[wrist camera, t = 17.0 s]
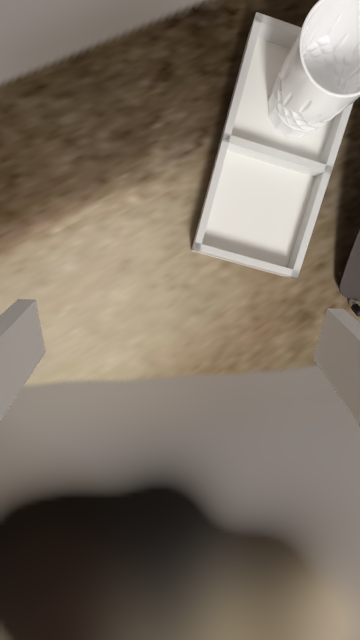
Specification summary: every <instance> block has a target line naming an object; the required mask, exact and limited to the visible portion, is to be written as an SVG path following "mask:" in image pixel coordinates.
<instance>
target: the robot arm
mask: <svg viewBox="0 0 360 640" xmlns="http://www.w3.org/2000/svg"><path fill="white" fill-rule="evenodd" d="M44 354H45V346H44V341H43V336H42V330H41V325H40V320H39V314H38V309H37V304H36V300H25V299H18V300H17V301H16V302H15V303H14V304H13V305H11V306H10V307H9V308H8V309H7V310H6V311H5V312H4V313H3V314H2V315H1V316H0V421H1V420H2V418H3V416H4V415H5V413H6V412H7V410H8V409H9V407H10V406H11V404H12V403H13V401H14V400H15V398H16V397H17V395H18V394H19V392H20V391H21V389H22V387H23V386H24V384H25V383H26V381H27V380H28V378H29V377H30V375H31V374H32V372H33V371H34V369H35V368H36V366H37V364H38V363H39V361H40V360H41V358H42V357H43V355H44ZM313 359H314V361H315V362H316V363H317V365H318V366H319V368H320V369H321V371H322V372H323V374H324V375H325V376H326V378H327V379H328V381H329V382H330V384H331V385H332V387H333V388H334V390H335V391H336V393H337V394H338V395H339V397H340V398H341V400H342V401H343V403H344V404H345V406H346V407H347V409H348V410H349V411H350V413H351V414H352V416H353V417H354V419H355V420H356V422H357V423H358V425H359V426H360V323H359V322H358V321H357V320H356V319H354V318H353V317H352V316H351V315H350V314H349V313H348V312H347V311H346V310H344V309H327V312H326V315H325V319H324V322H323V326H322V329H321V333H320V336H319V340H318V343H317V347H316V350H315V354H314V357H313Z"/></svg>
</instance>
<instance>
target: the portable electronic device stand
mask: <svg viewBox="0 0 360 640" xmlns="http://www.w3.org/2000/svg"><path fill="white" fill-rule="evenodd" d="M339 275H340V277H341V278H340V284H339V290H340V292H341V293H342V295H343V296H345V297H347V298H349V306H350V307H351V309H352V310H353V312H354V313H355V314H356V315H357V316H360V306H359V305H358V304H356V301H360V227H359V230H358V232H357V235H356V237H355V240H354V242H353V245H352V248H351V250H350V253H349V256H348V259H347V262H346V265H345V268H344V270H343V271H341V272H339Z"/></svg>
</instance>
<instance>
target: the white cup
mask: <svg viewBox="0 0 360 640" xmlns="http://www.w3.org/2000/svg"><path fill="white" fill-rule="evenodd" d="M359 97H360V0H319V1H318V2H317V3H316V4H315V5H314V6H313V7H312V9H311V10H310V12H309V13H308V15H307V17H306V19H305V21H304V23H303V25H302V27H301V29H300V31H299V33H298V35H297V37H296V39H295V41H294V43H293V45H292V47H291V49H290V51H289V53H288V55H287V57H286V59H285V61H284V63H283V66H282V68H281V70H280V72H279V74H278V77H277V79H276V82H275V84H274V86H273V88H272V91H271V94H270V97H269V100H268V110H269V118H270V120H271V121H272V123H273V125H274V127H275V129H276V130H278V131H279V132H281V133H282V134H284V135H285V136H286V137H294V138H301V137H304V136H307V135H309V134H312V133H313V132H315V131H316V130H317V129H318V128H319V127H321V126H322V125H324V124H325V123H327V122H328V121H330V120H331V119H332V118H334V117H335V116H336V115H338V114H339V113H340V112H342V111H343V110H344V109H345V108H347V107H348V106H349V105H350V104H352V103H353V102H354V101H355V100H357V99H358V98H359Z"/></svg>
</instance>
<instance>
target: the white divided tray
mask: <svg viewBox="0 0 360 640" xmlns="http://www.w3.org/2000/svg"><path fill="white" fill-rule="evenodd" d="M300 29H301V27H298V26H295V25H292V24H290V23H287V22H284V21H281V20H278V19H275V18H272V17H269V16H267V15H264V14H261V13H258V12H256V14H255V17H254V20H253V23H252V26H251V29H250V31H249V34H248V38H247V42H246V46H245V49H244V53H243V57H242V61H241V64H240V68H239V72H238V76H237V80H236V83H235V87H234V91H233V95H232V98H231V102H230V106H229V110H228V113H227V117H226V121H225V125H224V128H223V132H222V136H221V140H220V143H219V147H218V151H217V155H216V159H215V162H214V166H213V170H212V174H211V177H210V181H209V185H208V189H207V192H206V196H205V200H204V204H203V207H202V211H201V215H200V219H199V223H198V226H197V230H196V234H195V238H194V241H193V245H192V249H191V251H194V252H197V253H201V254H204V255H208V256H212V257H215V258H219V259H223V260H226V261H230V262H233V263H237V264H241V265H244V266H248V267H252V268H255V269H259V270H262V271H266V272H270V273H273V274H277V275H280V276H284V277H288V278H298V275H299V272H300V269H301V266H302V262H303V259H304V256H305V253H306V250H307V247H308V244H309V240H310V237H311V234H312V231H313V228H314V225H315V222H316V219H317V215H318V212H319V209H320V206H321V203H322V200H323V197H324V193H325V190H326V187H327V184H328V181H329V178H330V175H331V172H332V168H333V165H334V162H335V159H336V156H337V153H338V150H339V146H340V143H341V140H342V137H343V134H344V131H345V128H346V125H347V121H348V118H349V115H350V112H351V109H352V106H353V103H354V102H353V103H352V104H350V105H349V106H348V107H347V108H345V109H344V110H343V111H342V112H340V113H339V114H338V115H336V116H335V117H334V118H332V119H331V120H330V121H328V122H327V123H325V124H324V125H322V126H321V127H319V128H318V129H317V130H316V131H315V132H313V133H312V134H309V135H307V136H304V137H301V138H294V137H286V136H285V135H284V134H282V133H281V132H279V131H278V130H276V129H275V127H274V125H273V123H272V121H271V120H270V118H269V110H268V100H269V97H270V94H271V91H272V88H273V86H274V84H275V82H276V79H277V77H278V74H279V72H280V70H281V68H282V66H283V63H284V61H285V59H286V57H287V55H288V53H289V51H290V49H291V47H292V45H293V43H294V41H295V39H296V37H297V35H298V33H299V31H300Z"/></svg>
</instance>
